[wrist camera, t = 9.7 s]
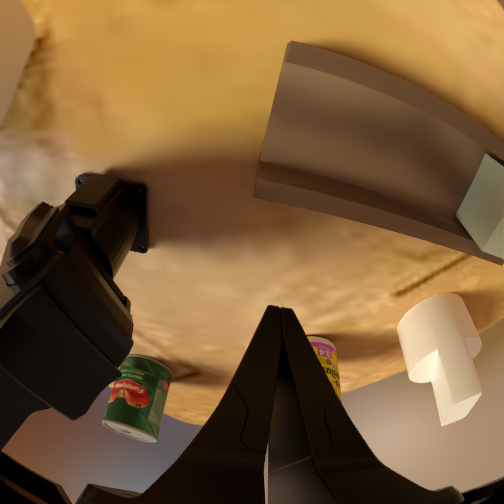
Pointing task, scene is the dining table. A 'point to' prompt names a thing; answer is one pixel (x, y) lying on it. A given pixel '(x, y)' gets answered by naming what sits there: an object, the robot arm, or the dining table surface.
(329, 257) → the dining table surface
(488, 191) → the block
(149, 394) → the canned tomato
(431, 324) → the cylinder with rectangular tab
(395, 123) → the chute
